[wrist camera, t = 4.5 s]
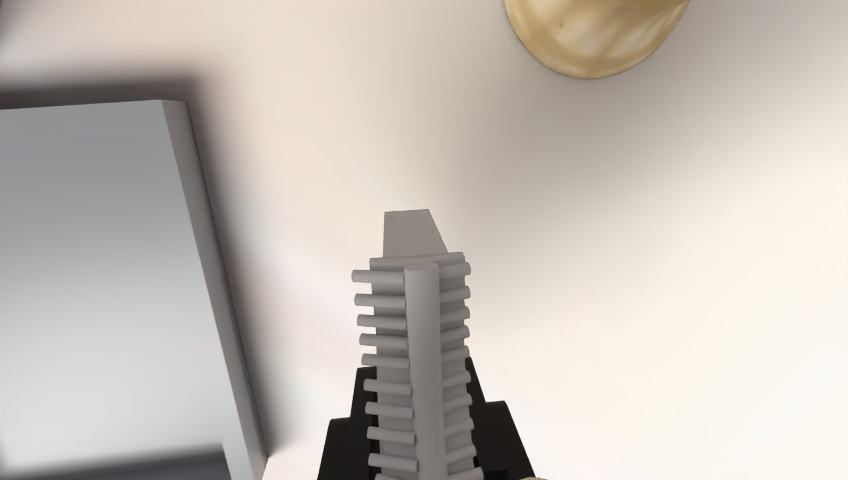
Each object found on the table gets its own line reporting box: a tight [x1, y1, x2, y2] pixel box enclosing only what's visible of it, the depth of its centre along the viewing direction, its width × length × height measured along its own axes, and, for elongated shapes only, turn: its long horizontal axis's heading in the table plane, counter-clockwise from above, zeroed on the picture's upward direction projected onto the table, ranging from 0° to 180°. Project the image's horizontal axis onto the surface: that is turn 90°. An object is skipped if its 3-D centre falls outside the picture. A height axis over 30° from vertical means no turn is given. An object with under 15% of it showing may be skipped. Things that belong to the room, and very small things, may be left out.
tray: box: [0, 99, 268, 480], centre depth 17 cm, size 14×18×2 cm
